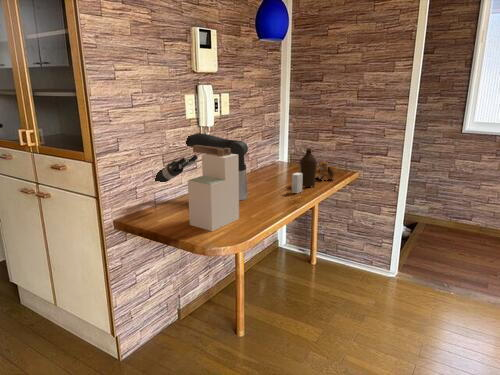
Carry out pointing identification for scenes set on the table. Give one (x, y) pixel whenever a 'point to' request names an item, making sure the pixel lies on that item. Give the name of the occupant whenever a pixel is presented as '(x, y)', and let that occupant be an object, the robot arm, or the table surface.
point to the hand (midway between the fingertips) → (191, 157)
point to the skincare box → (297, 182)
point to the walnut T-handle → (212, 150)
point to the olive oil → (308, 169)
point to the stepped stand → (215, 192)
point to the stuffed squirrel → (325, 171)
